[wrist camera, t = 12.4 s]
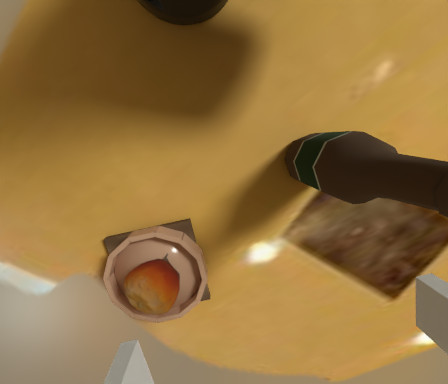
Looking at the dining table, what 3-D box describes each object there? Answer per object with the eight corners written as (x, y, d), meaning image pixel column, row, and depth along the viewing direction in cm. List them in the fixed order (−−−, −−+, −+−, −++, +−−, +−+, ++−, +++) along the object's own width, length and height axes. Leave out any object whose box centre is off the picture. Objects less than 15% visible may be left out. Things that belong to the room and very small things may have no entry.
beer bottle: (304, 192, 37) (461, 283, 14) (273, 158, 36) (391, 196, 12) (340, 158, 36) (576, 195, 13) (310, 122, 35) (516, 89, 11)
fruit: (201, 275, 36) (174, 323, 30) (172, 283, 40) (144, 326, 34) (168, 238, 34) (132, 281, 28) (142, 250, 39) (106, 290, 32)
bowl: (98, 239, 36) (89, 246, 33) (193, 217, 36) (192, 223, 34) (128, 318, 40) (123, 330, 37) (215, 299, 40) (215, 309, 37)
